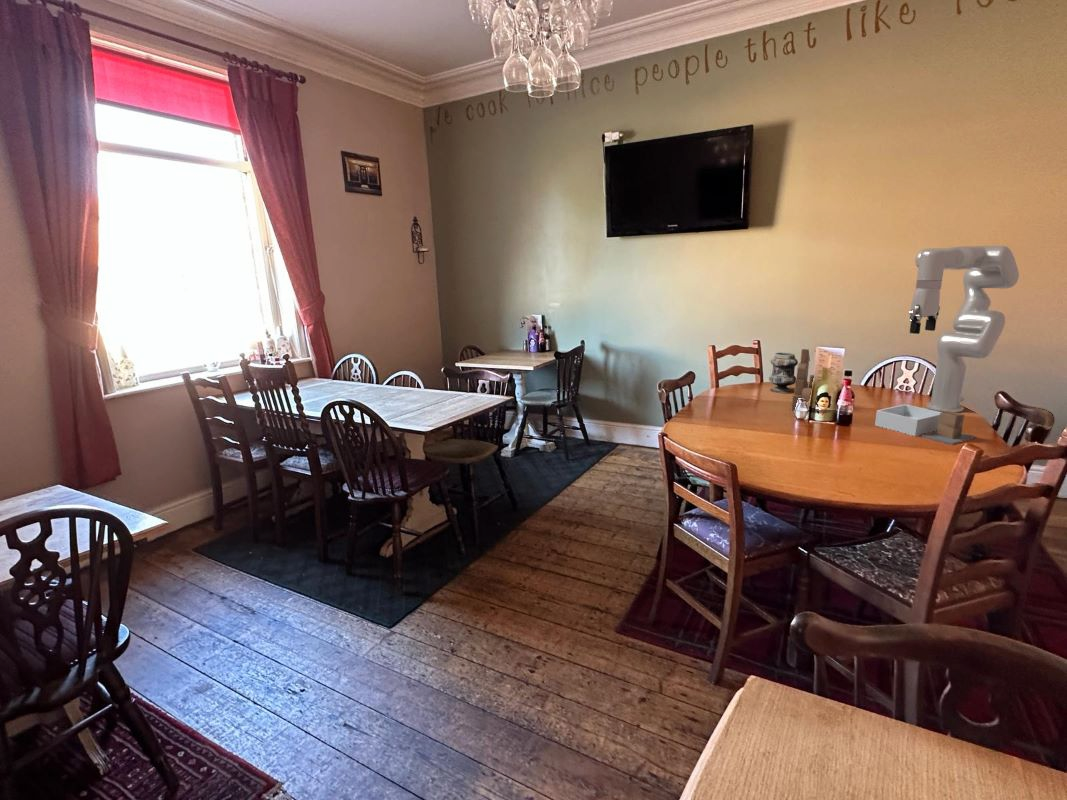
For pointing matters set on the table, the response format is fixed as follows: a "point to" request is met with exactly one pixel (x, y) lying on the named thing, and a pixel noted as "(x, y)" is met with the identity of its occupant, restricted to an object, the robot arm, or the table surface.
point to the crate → (908, 419)
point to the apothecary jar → (783, 372)
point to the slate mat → (947, 440)
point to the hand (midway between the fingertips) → (922, 331)
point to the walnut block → (950, 424)
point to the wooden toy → (802, 379)
